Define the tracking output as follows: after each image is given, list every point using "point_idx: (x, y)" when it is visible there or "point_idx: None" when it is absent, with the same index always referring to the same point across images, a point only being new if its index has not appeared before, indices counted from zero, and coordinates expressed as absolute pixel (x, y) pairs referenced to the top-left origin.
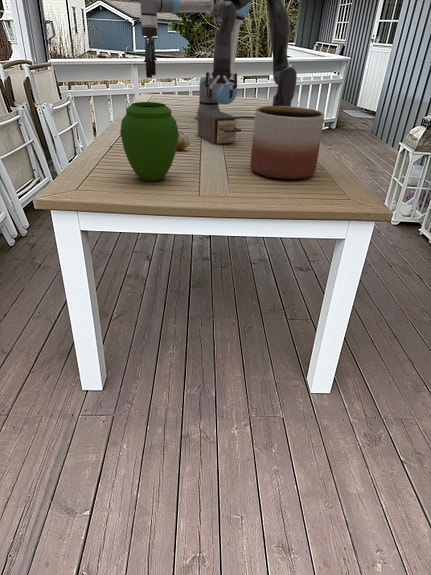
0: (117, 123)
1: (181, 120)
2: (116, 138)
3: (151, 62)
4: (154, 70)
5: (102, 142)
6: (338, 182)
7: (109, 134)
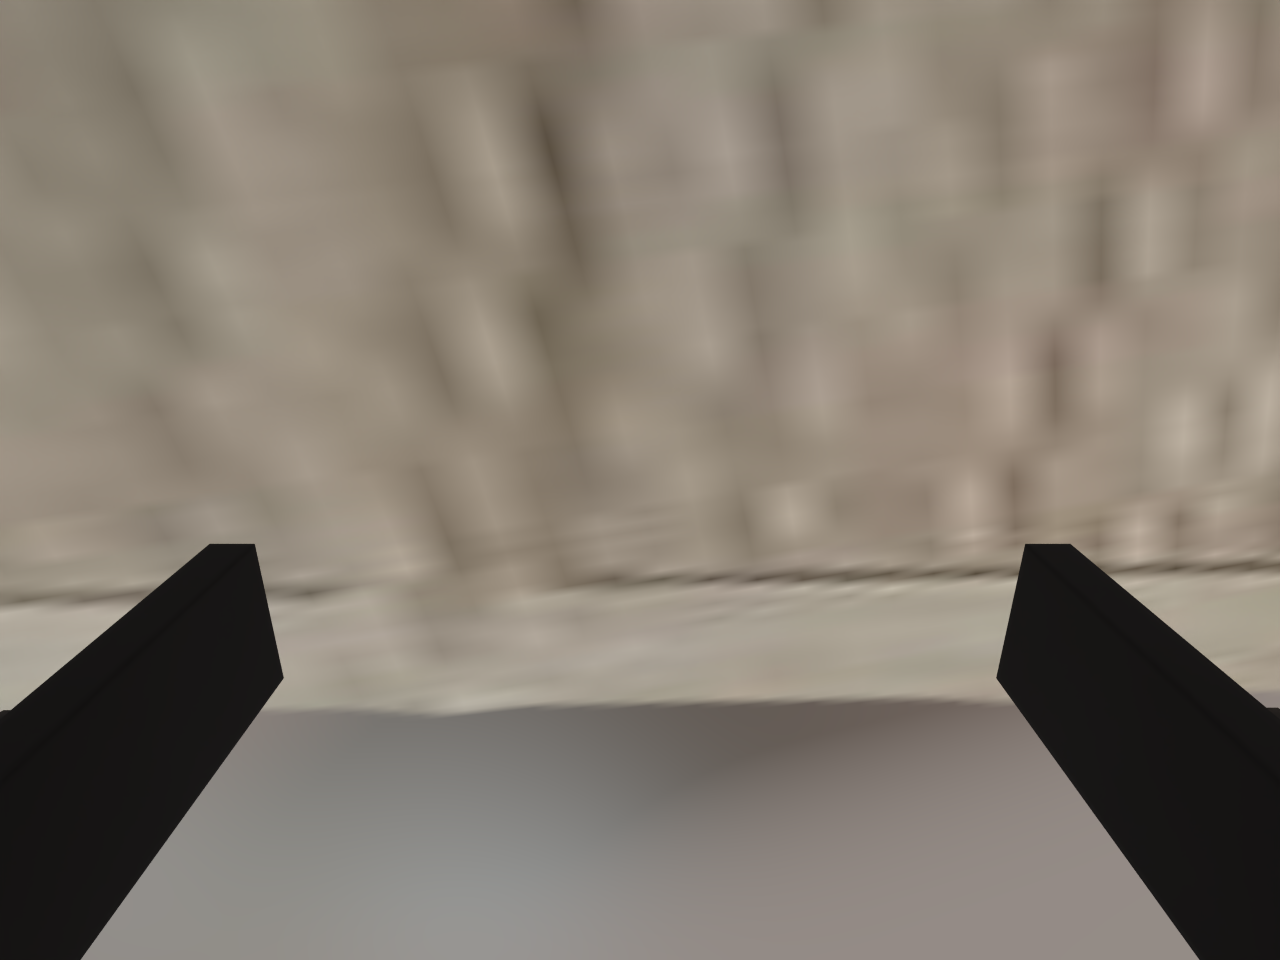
0: (493, 691)
1: (9, 27)
2: (1126, 586)
3: (25, 957)
4: (183, 645)
5: (1267, 653)
6: None
7: (971, 663)
